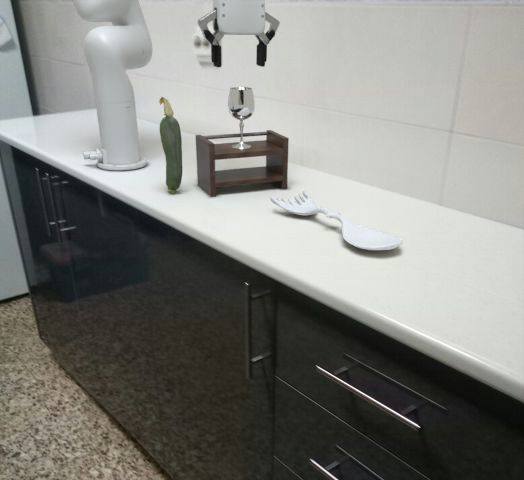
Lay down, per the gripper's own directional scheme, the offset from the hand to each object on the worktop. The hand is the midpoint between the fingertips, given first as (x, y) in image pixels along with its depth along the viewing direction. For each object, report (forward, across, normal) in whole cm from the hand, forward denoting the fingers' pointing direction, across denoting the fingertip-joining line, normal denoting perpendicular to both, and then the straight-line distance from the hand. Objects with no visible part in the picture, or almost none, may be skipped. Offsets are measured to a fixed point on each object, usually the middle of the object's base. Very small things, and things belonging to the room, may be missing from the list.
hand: (239, 66), depth 122 cm
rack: (+25, 0, +1) cm, 25 cm away
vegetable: (+26, +16, +1) cm, 30 cm away
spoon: (+25, -6, +35) cm, 43 cm away
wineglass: (+16, 0, +1) cm, 16 cm away
